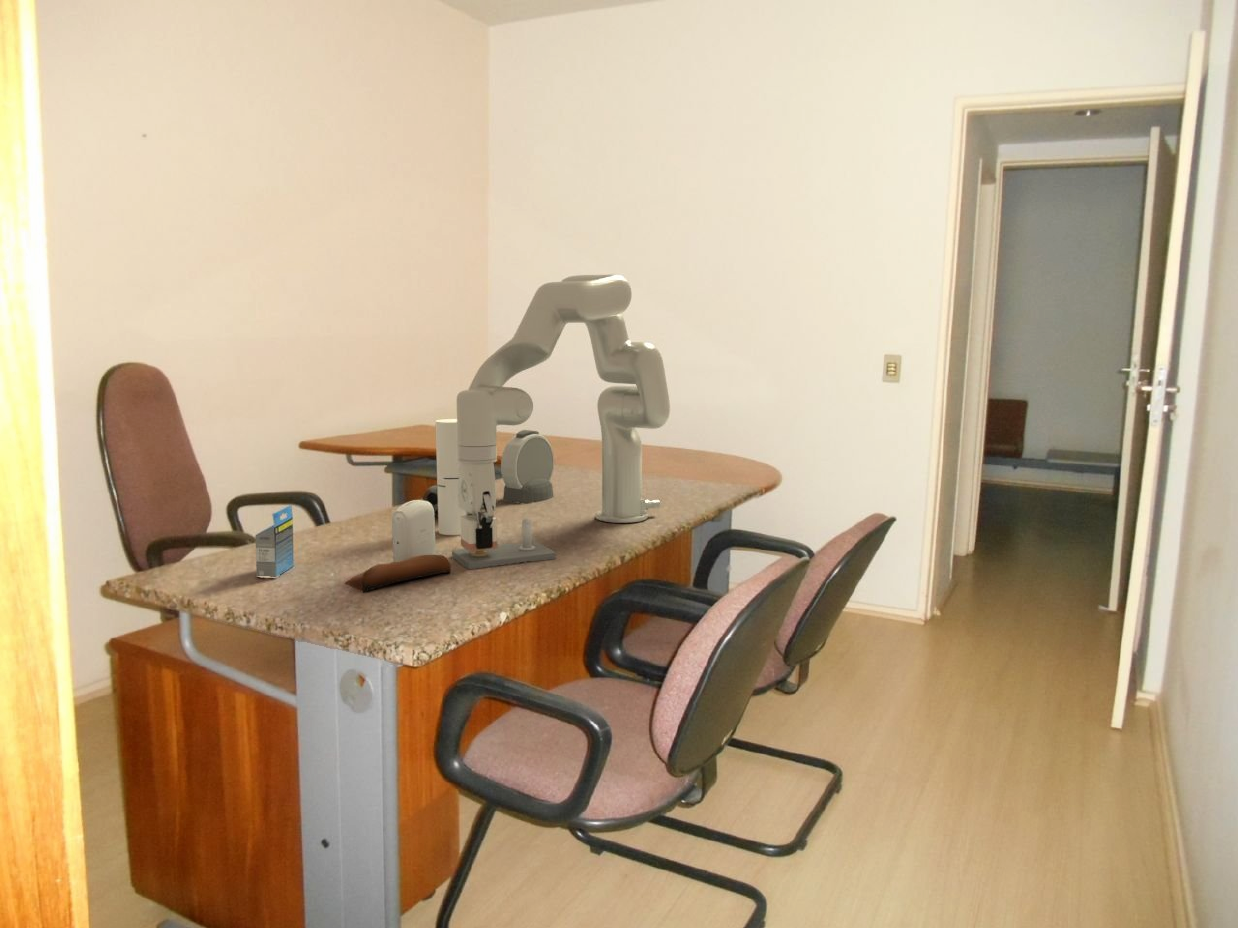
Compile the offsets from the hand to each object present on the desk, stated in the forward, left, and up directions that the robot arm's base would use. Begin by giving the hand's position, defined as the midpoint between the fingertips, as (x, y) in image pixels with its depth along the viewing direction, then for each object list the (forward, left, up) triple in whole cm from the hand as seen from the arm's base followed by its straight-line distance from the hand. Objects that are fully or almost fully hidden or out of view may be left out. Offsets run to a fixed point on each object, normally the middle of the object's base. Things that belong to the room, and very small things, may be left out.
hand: (479, 543), depth 182 cm
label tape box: (+37, -9, -4) cm, 38 cm away
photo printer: (+12, -4, -4) cm, 13 cm away
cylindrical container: (-3, -27, -4) cm, 27 cm away
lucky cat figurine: (-9, -44, -4) cm, 45 cm away
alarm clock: (-32, -56, -4) cm, 64 cm away
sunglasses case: (+18, +6, -4) cm, 19 cm away
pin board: (-5, 0, -3) cm, 6 cm away
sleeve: (0, 0, -1) cm, 1 cm away
